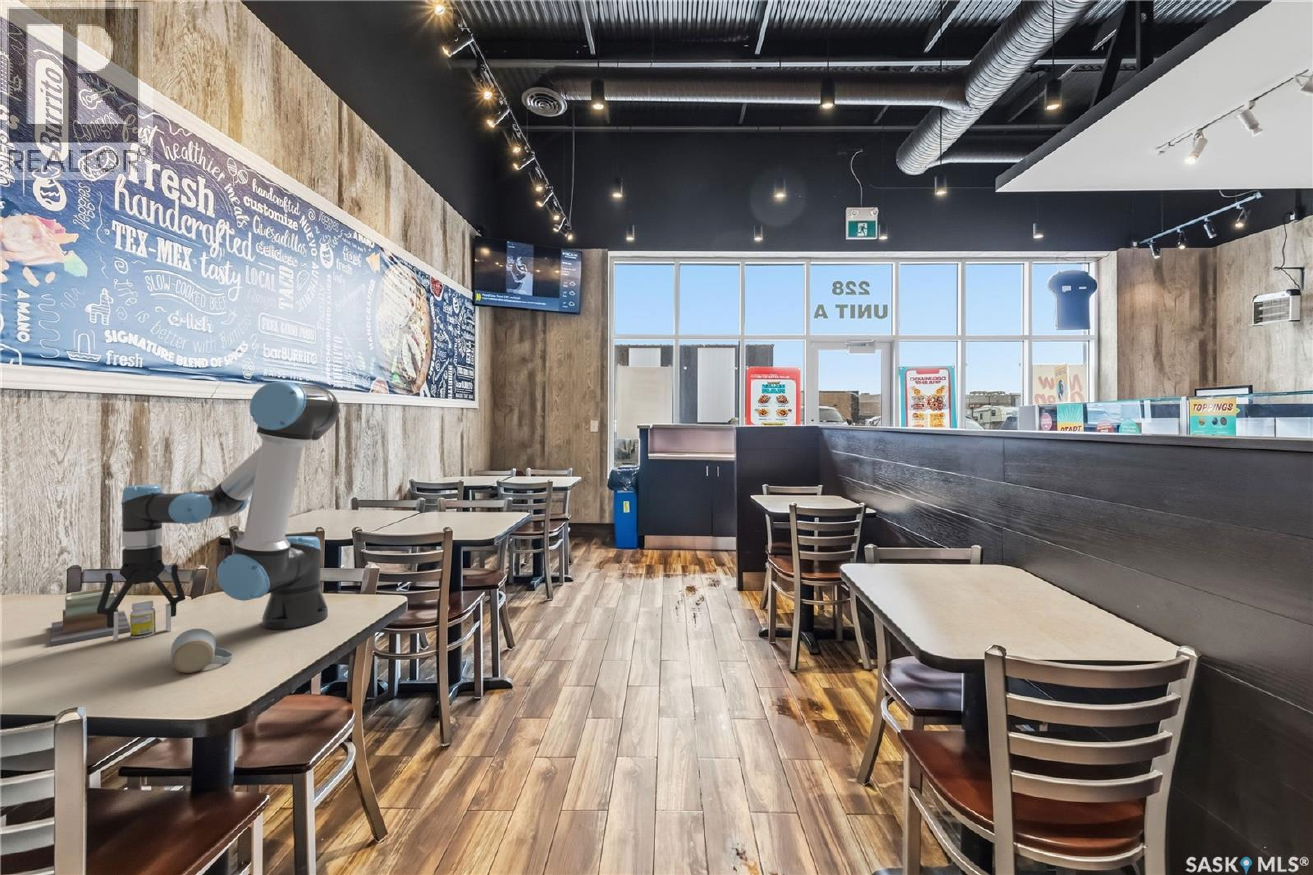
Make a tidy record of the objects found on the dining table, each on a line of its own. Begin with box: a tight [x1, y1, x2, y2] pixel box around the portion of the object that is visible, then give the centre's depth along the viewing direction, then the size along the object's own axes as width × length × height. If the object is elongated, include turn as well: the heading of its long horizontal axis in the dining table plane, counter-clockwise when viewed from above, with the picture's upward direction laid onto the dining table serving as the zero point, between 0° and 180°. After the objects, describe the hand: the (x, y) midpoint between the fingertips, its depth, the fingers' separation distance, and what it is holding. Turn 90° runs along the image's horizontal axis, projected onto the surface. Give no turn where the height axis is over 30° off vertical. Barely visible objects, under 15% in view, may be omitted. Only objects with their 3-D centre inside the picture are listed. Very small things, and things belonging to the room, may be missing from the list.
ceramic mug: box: [170, 628, 234, 674], centre depth 125 cm, size 11×8×8 cm
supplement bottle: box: [129, 599, 156, 639], centre depth 144 cm, size 5×5×8 cm
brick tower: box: [50, 587, 131, 647], centre depth 149 cm, size 20×14×10 cm
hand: (142, 634), depth 144 cm, fingers open, 9 cm apart
